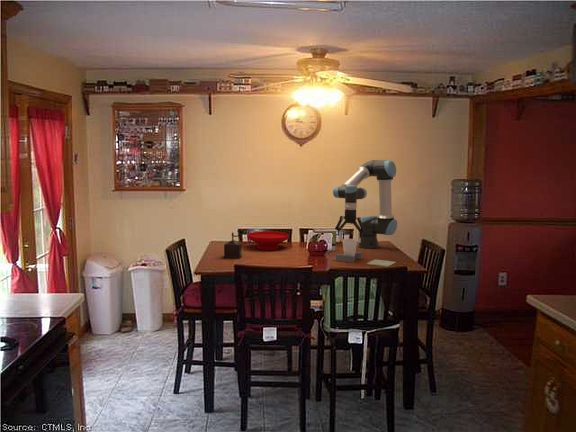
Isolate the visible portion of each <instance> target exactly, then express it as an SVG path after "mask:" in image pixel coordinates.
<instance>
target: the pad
mask: <svg viewBox="0 0 576 432" xmlns="http://www.w3.org/2000/svg"><path fill="white" fill-rule="evenodd" d="M396 262H397V261H392V260H391V261H390V260H383V259H373V260H370V261H368V262H367V263H366V265H371V266H372V265H373V266H380V267H386V268H388V267H390V266H392V265H395V264H396Z"/></svg>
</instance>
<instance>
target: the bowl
mask: <svg viewBox="0 0 576 432" xmlns="http://www.w3.org/2000/svg"><path fill="white" fill-rule="evenodd" d="M246 236H247V237H246V239H248V240H250V241H251V242H253V243H255V244H256V248H257V249H259V250H263V251H271V250H278V249H280V244H283V242H286V241H287V240H289V239H290V234H289V233H286V232H281V231H270V230H269V231H266V230H265V231H254V232H249V233H247V235H246Z"/></svg>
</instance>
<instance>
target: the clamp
mask: <svg viewBox="0 0 576 432" xmlns="http://www.w3.org/2000/svg"><path fill="white" fill-rule="evenodd" d="M363 258H364V253H363V252H361V251H356V252H355V256H352V255H344V253H336V254H335V257H334V258H332V261H336V262H344V263H352V264H354V263H355V262H356V260H362V259H363ZM363 260H364V259H363Z"/></svg>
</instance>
